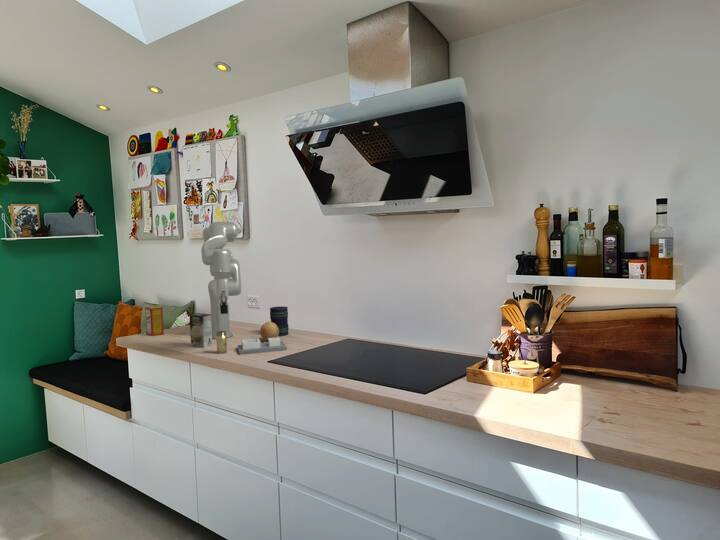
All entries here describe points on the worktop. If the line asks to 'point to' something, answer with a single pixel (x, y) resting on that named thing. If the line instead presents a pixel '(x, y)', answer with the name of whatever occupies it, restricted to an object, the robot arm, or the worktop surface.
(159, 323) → the baking soda box
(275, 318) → the storage jar
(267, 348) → the manifold plate
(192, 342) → the coffee box
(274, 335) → the onion
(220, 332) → the brass stub
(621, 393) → the worktop surface
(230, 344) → the worktop surface
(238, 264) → the robot arm
